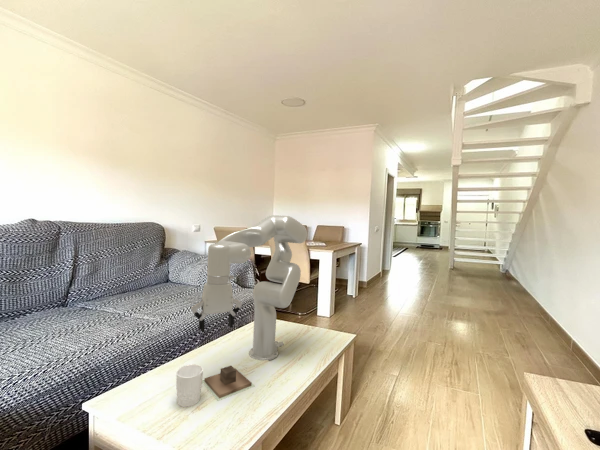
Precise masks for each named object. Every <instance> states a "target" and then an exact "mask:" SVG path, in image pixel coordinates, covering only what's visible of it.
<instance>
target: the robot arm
mask: <svg viewBox="0 0 600 450" xmlns="http://www.w3.org/2000/svg"><path fill="white" fill-rule="evenodd" d="M272 238H273V243H274V252H273V255H272V257H271V259H270V260H269V264H268V266H267V267H266V271H265V277H266V279H267V280H269V281H259V282H257V283H256V284H255V285H254V287H253V292H252V298H253V307H254V308H253V309H254V311H253V312H254V313H253V315H254V316H253V338H252V348H250V349H249V350H248V355H249V357H250V358H252V359H253V360H257V361H272V360H274V359H276V358H277V357H278V355H279V351H278V348H279V347H283V346H284V341H279V342H278V340H276V333H277V332H276V329H277V311H276V308H279V309H285V308H288V307H289V306H290V304H291V302H292V301H293V299H294V296H295V294H296V291H297V289H298V288H297V287H298V286H299V283H300V279H301V276H302V275H301V272H302V270H301V268H300V265H298V264H297V263H294V262H291V260H292V258H293V251H292V250H291V249H292V248H291V247H290V245H289V243H292V244H302V243H304V242H305V241H307V239H308V230H307V228H306V226H305V225H304V224H303V223H301V222H300V221H298V220H297V219H295V218H294V217H292V216H289V215H276V214H275V215H274V214H273V215H269V216H267V217H265V218H264V219H262V220H261V221H259V222H258V223H256V224H254V225H253V226H251V227H248V228H245V229H242V230H239V231H235V232H233V233H231V234H228V235H226V236H224V237H223V238H221V239H220V240H219V241H217V242H216V243H212V244H210V245H209V246H208V248H207V268H206V269H207V277H206V282H205V283H204V284H203V289H202V295H201V301H198V303H196V304H194V305H192V306H191V307H190V310H191V312H192V313H193V315H194V317H196V319H198V329H199V330H200V332H201V333H205V328H206V327H205V325H206V323H205V321H206V320H205V318H206V317H207V316H208V315H214V314H224V313H229V314H228V319H227V320H228V322H227V324H228V326H229V328H231V329H232V328H233V327H234V325H235V317H236V314H237V313H238V312H239V311H240V309H241V307H242V305H243V302H242V301H240V300H238V299H236V298H234V293H233V287H232V282H231V280H234V275H232V274H231V264H241V265H242V264H244V263H246V262H248V260H249V259H250V258H251V255H252V250H251V248H255V247H259V246H263V245H265V244H266V243H267V242H268V241H270V240H271V239H272ZM234 304H235V305H236V306H235V307H234ZM200 308H201V312H200V313H199V312H198V311H197V310H198V309H200Z"/></svg>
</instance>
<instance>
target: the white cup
mask: <svg viewBox="0 0 600 450" xmlns="http://www.w3.org/2000/svg"><path fill="white" fill-rule="evenodd" d="M175 372H176V375H175V377H176V378H175V379H176V384H175V385H176V403H177V405H178V406H179V407H183V408H184V407H186V408H188V407H193V406H195V405H197V404H198V402H199V401H200V400H201V392H202V385H203V383H202V380H203V375H204V367H203V366H202V365H200V364H187V365H183V366H181V367H179V368H178V369H177V370H176V371H175Z"/></svg>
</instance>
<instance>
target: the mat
mask: <svg viewBox="0 0 600 450" xmlns="http://www.w3.org/2000/svg"><path fill="white" fill-rule="evenodd" d="M235 369H236V370H238V369H237V368H235ZM243 376H244V377H246V376H245V375H243ZM251 383H252V386H249V387H247V388H244V389H242V390H239V391H237V392H234V393H232V394H229V395H227V396H224V397H222V398H219V397H218V396H217V395H216V394H215V393H214V392H213V391H212V389H211V388H210V387H209V386H208V385H207V384H206V383H205V381H204V379H202V385H203V386H204V387H205V388H206V390H207V391H208V392H210V394H211V395H212V396H213V397H214V399H215V400H216V402H219V401H222V400H224V399H227V398H229V397H232V396H235V395H237V394H239V393H242V392H244V391H247V390H249V389H252V388H254V387H255V388H256V385H255V384H254V383H253V382H251Z"/></svg>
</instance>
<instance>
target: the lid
mask: <svg viewBox="0 0 600 450" xmlns="http://www.w3.org/2000/svg"><path fill="white" fill-rule="evenodd" d="M236 369H237V368H235V367H233V366H232V365H228V366H225V367H221V368H220V373H217V374H214V375H211V376H208V377H205V378H204V379H203V380H204V381H205V383H206V384H207V385H208V386H209V387H210V388H211V389H212V391H213V392H214V393H215V394H216V395H217V396H218V397H219V398H222V397H224V396H227V395H229V394H232V393H234V392H237V391H239V390H242V389H244V388H247V387H249V386H252V383H253V382H252V381H251V380H249V379H248V378H247V377H246V376H245V375H243V374H242V373H241V372H240V371H239V370H238V369H237V370H236ZM244 376H245V377H244Z"/></svg>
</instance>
